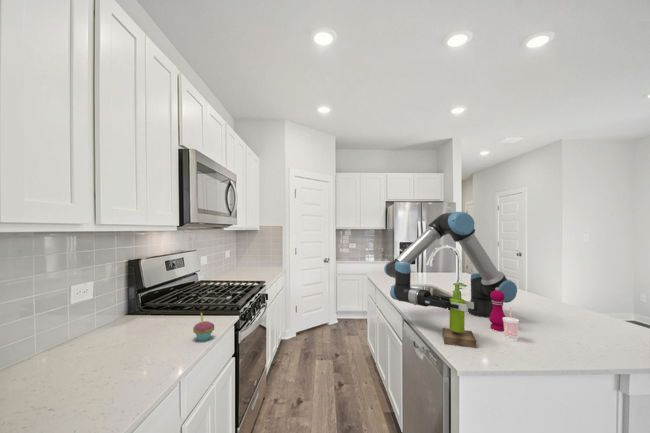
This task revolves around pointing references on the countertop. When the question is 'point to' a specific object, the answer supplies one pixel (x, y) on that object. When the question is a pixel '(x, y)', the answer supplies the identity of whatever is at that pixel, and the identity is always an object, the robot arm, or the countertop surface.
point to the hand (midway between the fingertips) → (470, 306)
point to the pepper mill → (497, 310)
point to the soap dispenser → (457, 311)
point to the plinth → (459, 338)
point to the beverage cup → (511, 328)
